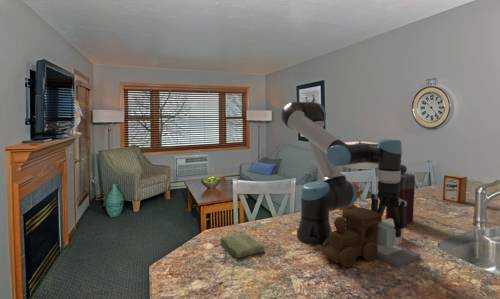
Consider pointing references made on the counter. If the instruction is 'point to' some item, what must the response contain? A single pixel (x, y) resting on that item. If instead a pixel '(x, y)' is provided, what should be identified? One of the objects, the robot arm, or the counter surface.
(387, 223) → the sage brick
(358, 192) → the orange lumpy rounded piece
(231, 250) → the washcloth
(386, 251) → the base plate
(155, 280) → the counter surface
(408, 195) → the toy vending machine
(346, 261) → the wooden toy train
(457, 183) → the baking soda box
